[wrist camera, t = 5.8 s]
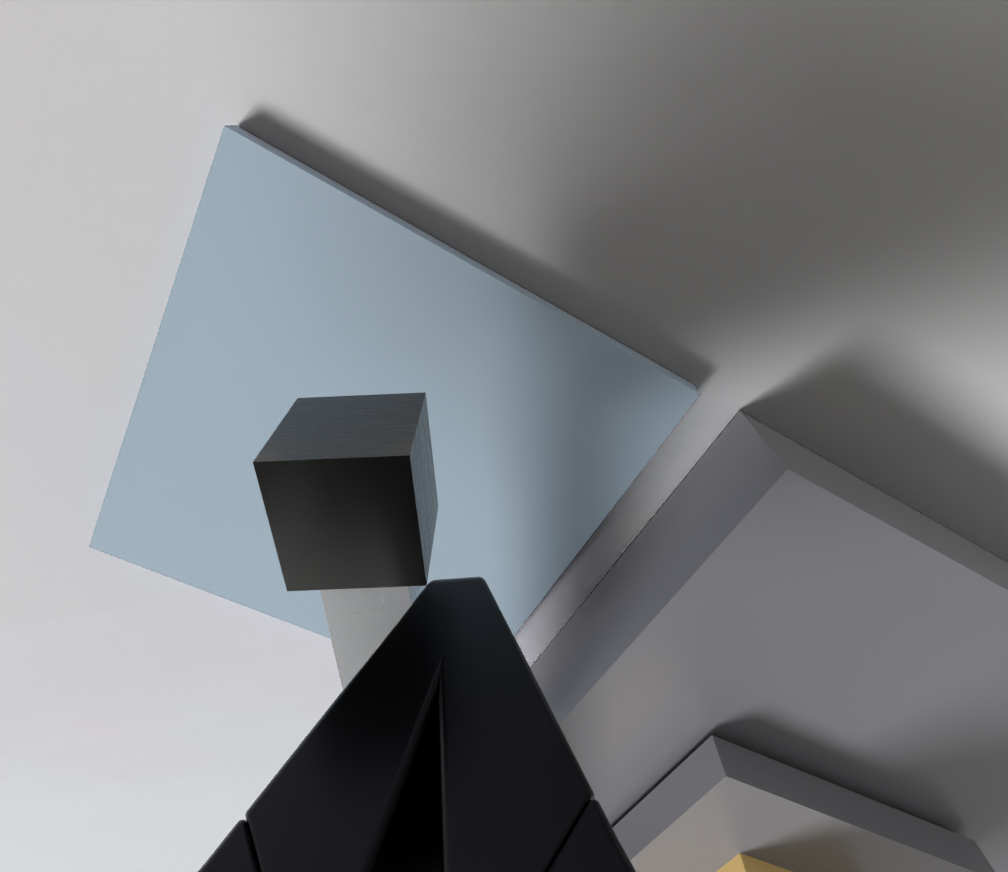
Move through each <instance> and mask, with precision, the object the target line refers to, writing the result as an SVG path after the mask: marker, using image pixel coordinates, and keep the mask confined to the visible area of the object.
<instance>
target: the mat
mask: <svg viewBox="0 0 1008 872" xmlns="http://www.w3.org/2000/svg"><path fill="white" fill-rule="evenodd" d="M423 392H426V400H427V409H428V418H429V427H430V436H431V445H432V454H433V463H434V472H435V481H436V490H437V499H438V512H437V519H436V526H435V533H434V539H433V546H432V553H431V560H430V566H429V573H428V580H427V584H428V583H429V582H431V581H432V580H438V579H452V578H466V577H482V578H483V579H484V580H485V581H486V583H487V585H488V587H489V589H490V591H491V592H492V594H493V596H494V598H495V600H496V602H497V604H498V606H499V608H500V610H501V612H502V614H503V616H504V618H505V620H506V622H507V624H508V626H509V628H510V630H511V632H512V634H513V636H514V635H515V634H516V633H517V631H518V630H519V629H520V628H521V626H522V625H523V624H524V622H525V621H526V620H527V618H528V617H529V616H530V615H531V613H532V612H533V611H534V609H535V608H536V607H537V605H538V604H539V603H540V602H541V600H542V599H543V598H544V596H545V595H546V594H547V592H548V591H549V590H550V589H551V587H552V586H553V585H554V583H555V582H556V581H557V579H558V578H559V577H560V576H561V574H562V573H563V572H564V570H565V569H566V568H567V567H568V565H569V564H570V563H571V561H572V560H573V559H574V557H575V556H576V555H577V554H578V552H579V551H580V550H581V548H582V547H583V546H584V544H585V543H586V542H587V541H588V539H589V538H590V537H591V535H592V534H593V533H594V531H595V530H596V529H597V528H598V526H599V525H600V524H601V522H602V521H603V520H604V519H605V517H606V516H607V515H608V513H609V512H610V511H611V509H612V508H613V507H614V506H615V504H616V503H617V502H618V500H619V499H620V498H621V496H622V495H623V494H624V493H625V491H626V490H627V489H628V487H629V486H630V485H631V483H632V482H633V481H634V480H635V478H636V477H637V476H638V474H639V473H640V472H641V471H642V469H643V468H644V467H645V465H646V464H647V463H648V461H649V460H650V459H651V458H652V456H653V455H654V454H655V452H656V451H657V450H658V448H659V447H660V446H661V445H662V443H663V442H664V441H665V439H666V438H667V437H668V435H669V434H670V433H671V432H672V430H673V429H674V428H675V426H676V425H677V424H678V423H679V421H680V420H681V419H682V417H683V416H684V415H685V413H686V412H687V411H688V410H689V408H690V407H691V406H692V404H693V403H694V402H695V400H696V399H697V398H698V397H699V395H700V393H699V391H698V390H697V389H696V387H695V386H694V384H692V383H690V382H688V381H686V380H685V379H683V378H681V377H679V376H678V375H676V374H674V373H672V372H671V371H669V370H667V369H665V368H664V367H662V366H660V365H658V364H656V363H655V362H653V361H651V360H649V359H648V358H646V357H644V356H642V355H641V354H639V353H637V352H635V351H633V350H632V349H630V348H628V347H626V346H625V345H623V344H621V343H619V342H618V341H616V340H614V339H612V338H610V337H609V336H607V335H605V334H603V333H602V332H600V331H598V330H596V329H595V328H593V327H591V326H589V325H588V324H586V323H584V322H582V321H580V320H579V319H577V318H575V317H573V316H572V315H570V314H568V313H566V312H565V311H563V310H561V309H559V308H557V307H556V306H554V305H552V304H550V303H549V302H547V301H545V300H543V299H542V298H540V297H538V296H536V295H535V294H533V293H531V292H529V291H527V290H526V289H524V288H522V287H520V286H519V285H517V284H515V283H513V282H512V281H510V280H508V279H506V278H504V277H503V276H501V275H499V274H497V273H496V272H494V271H492V270H490V269H489V268H487V267H485V266H483V265H482V264H480V263H478V262H476V261H474V260H473V259H471V258H469V257H467V256H466V255H464V254H462V253H460V252H459V251H457V250H455V249H453V248H451V247H450V246H448V245H446V244H444V243H443V242H441V241H439V240H437V239H436V238H434V237H432V236H430V235H429V234H427V233H425V232H423V231H421V230H420V229H418V228H416V227H414V226H413V225H411V224H409V223H407V222H406V221H404V220H402V219H400V218H398V217H397V216H395V215H393V214H391V213H390V212H388V211H386V210H384V209H383V208H381V207H379V206H377V205H375V204H374V203H372V202H370V201H368V200H367V199H365V198H363V197H361V196H360V195H358V194H356V193H354V192H353V191H351V190H349V189H347V188H345V187H344V186H342V185H340V184H338V183H337V182H335V181H333V180H331V179H330V178H328V177H326V176H324V175H322V174H321V173H319V172H317V171H315V170H314V169H312V168H310V167H308V166H307V165H305V164H303V163H301V162H300V161H298V160H296V159H294V158H292V157H291V156H289V155H287V154H285V153H284V152H282V151H280V150H278V149H277V148H275V147H273V146H271V145H269V144H268V143H266V142H264V141H262V140H261V139H259V138H257V137H255V136H254V135H252V134H250V133H248V132H247V131H245V130H243V129H241V128H239V127H238V126H236V125H230V126H224V128H223V131H222V135H221V138H220V141H219V144H218V147H217V150H216V153H215V156H214V159H213V163H212V166H211V169H210V172H209V175H208V178H207V181H206V184H205V187H204V191H203V194H202V197H201V200H200V203H199V206H198V209H197V212H196V215H195V219H194V222H193V225H192V228H191V231H190V234H189V237H188V240H187V243H186V247H185V250H184V253H183V256H182V259H181V262H180V265H179V268H178V271H177V275H176V278H175V281H174V284H173V287H172V290H171V293H170V296H169V299H168V303H167V306H166V309H165V312H164V315H163V318H162V321H161V324H160V327H159V331H158V334H157V337H156V340H155V343H154V346H153V349H152V352H151V355H150V359H149V362H148V365H147V368H146V371H145V374H144V377H143V380H142V383H141V387H140V390H139V393H138V396H137V399H136V402H135V405H134V408H133V411H132V415H131V418H130V421H129V424H128V427H127V430H126V433H125V436H124V439H123V443H122V446H121V449H120V452H119V455H118V458H117V461H116V464H115V467H114V471H113V474H112V477H111V480H110V483H109V486H108V489H107V492H106V495H105V499H104V502H103V505H102V508H101V511H100V514H99V517H98V520H97V523H96V527H95V530H94V533H93V536H92V539H91V542H90V545H89V547H91V548H93V549H96V550H99V551H101V552H104V553H106V554H109V555H112V556H114V557H117V558H120V559H122V560H125V561H128V562H130V563H133V564H135V565H138V566H141V567H143V568H146V569H149V570H151V571H154V572H157V573H159V574H162V575H164V576H167V577H170V578H172V579H175V580H178V581H180V582H183V583H185V584H188V585H191V586H193V587H196V588H199V589H201V590H204V591H207V592H209V593H212V594H214V595H217V596H220V597H222V598H225V599H228V600H230V601H233V602H236V603H238V604H241V605H243V606H246V607H249V608H251V609H254V610H257V611H259V612H262V613H265V614H267V615H270V616H272V617H275V618H278V619H280V620H283V621H286V622H288V623H291V624H294V625H296V626H299V627H301V628H304V629H307V630H309V631H312V632H315V633H317V634H320V635H322V636H325V637H328V638H330V639H331V636H330V631H329V627H328V623H327V619H326V614H325V610H324V606H323V601H322V597H321V593H320V590H308V591H287V589H286V585H285V582H284V578H283V574H282V570H281V566H280V563H279V559H278V555H277V551H276V548H275V544H274V540H273V536H272V533H271V529H270V525H269V521H268V517H267V514H266V510H265V506H264V502H263V499H262V495H261V491H260V487H259V484H258V480H257V476H256V472H255V469H254V465H253V461H254V460H255V458H256V457H257V455H258V454H259V452H260V451H261V450H262V448H263V447H264V445H265V444H266V442H267V441H268V440H269V438H270V437H271V435H272V434H273V432H274V431H275V430H276V428H277V427H278V425H279V424H280V422H281V421H282V420H283V418H284V417H285V415H286V414H287V412H288V411H289V410H290V408H291V407H292V405H293V404H294V402H295V401H296V400H297V398H309V397H332V396H355V395H378V394H400V393H423Z"/></svg>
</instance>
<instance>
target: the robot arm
mask: <svg viewBox="0 0 1008 872" xmlns="http://www.w3.org/2000/svg"><path fill="white" fill-rule="evenodd" d="M246 821H247V822H246ZM246 821H245V820H240V821H239V822H238V823H237V824H236V825H235V827H234V828H233V829H232V830H231V832H230V833H229V834H228V835H227V837H226V838H225V839H224V840H223V842H222V843H221V844H220V845H219V847H218V848H217V849H216V850H215V852H214V853H213V854H212V855H211V857H210V858H209V859H208V860H207V862H206V863H205V864H204V865H203V866H202V868H201V869H200V870H199V871H198V872H636V871H635V869H634V867H633V865H632V863H631V861H630V860H629V858H628V856H627V854H626V852H625V851H624V849H623V847H622V845H621V843H620V842H619V840H618V838H617V836H616V834H615V832H614V830H613V828H612V826H611V824H610V822H609V820H608V819H607V817H606V815H605V813H604V811H603V809H602V807H601V805H600V803H599V801H597V800H595V796H594V792H593V790H592V788H591V786H590V784H589V782H588V780H587V778H586V776H585V775H584V773H583V771H582V769H581V767H580V765H579V763H578V761H577V759H576V757H575V755H574V753H573V751H572V749H571V747H570V745H569V743H568V741H567V739H566V737H565V735H564V733H563V731H562V729H561V728H560V726H559V724H558V722H557V720H556V718H555V716H554V714H553V712H552V710H551V708H550V706H549V704H548V702H547V700H546V698H545V696H544V694H543V692H542V690H541V688H540V686H539V684H538V683H537V681H536V679H535V677H534V675H533V673H532V671H531V669H530V667H529V665H528V663H527V661H526V659H525V657H524V655H523V653H522V651H521V649H520V647H519V645H518V643H517V641H516V639H515V637H514V636H513V634H512V632H511V630H510V628H509V626H508V624H507V622H506V620H505V618H504V616H503V614H502V612H501V610H500V608H499V606H498V604H497V602H496V600H495V598H494V596H493V594H492V592H491V591H490V589H489V587H488V585H487V583H486V581H485V580H484V579H483V578H482V577H466V578H452V579H438V580H432V581H431V582H429V583H428V584H427V586H426V587H425V588H424V589H423V591H422V592H421V593H420V594H419V596H418V597H417V598H416V599H415V601H414V602H413V603H412V604H411V606H410V607H409V608H408V609H407V611H406V612H405V613H404V614H403V616H402V617H401V618H400V620H399V621H398V622H397V623H396V625H395V626H394V627H393V628H392V630H391V631H390V632H389V633H388V635H387V636H386V637H385V638H384V640H383V641H382V642H381V643H380V645H379V646H378V647H377V648H376V650H375V651H374V652H373V653H372V655H371V656H370V657H369V658H368V660H367V661H366V662H365V664H364V665H363V666H362V667H361V669H360V670H359V671H358V672H357V674H356V675H355V676H354V677H353V679H352V680H351V681H350V682H349V684H348V685H347V686H346V687H345V689H344V690H343V691H342V692H341V694H340V695H339V696H338V697H337V699H336V700H335V701H334V703H333V704H332V705H331V706H330V708H329V709H328V710H327V711H326V713H325V714H324V715H323V716H322V718H321V719H320V720H319V721H318V723H317V724H316V725H315V726H314V728H313V729H312V730H311V731H310V733H309V734H308V735H307V736H306V738H305V739H304V740H303V741H302V743H301V744H300V745H299V747H298V748H297V749H296V750H295V752H294V753H293V754H292V755H291V757H290V758H289V759H288V760H287V762H286V763H285V764H284V765H283V767H282V768H281V769H280V770H279V772H278V773H277V774H276V775H275V777H274V778H273V779H272V780H271V782H270V783H269V784H268V786H267V787H266V788H265V789H264V791H263V792H262V793H261V794H260V796H259V797H258V798H257V799H256V801H255V802H254V803H253V804H252V806H251V807H250V808H249V809H248V811H247V812H246Z"/></svg>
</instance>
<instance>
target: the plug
mask: <svg viewBox="0 0 1008 872" xmlns="http://www.w3.org/2000/svg"><path fill="white" fill-rule="evenodd" d="M613 830H614V832H615V834H616V836H617V838H618V840H619V842H620V843H621V845H622V847H623V849H624V851H625V852H626V854H627V856H628V858H629V860H630V861H631V863H632V865H633V867H634V869H635V871H636V872H995V871H994V869H993V868H992V866H991V865H990V863H989V862H988V860H987V859H986V857H985V856H984V854H983V853H982V851H981V850H980V848H979V847H978V845H977V844H976V842H975V841H974V840H972V839H969V838H967V837H964V836H962V835H959V834H957V833H954V832H952V831H949V830H947V829H944V828H942V827H939V826H937V825H934V824H932V823H930V822H927V821H925V820H922V819H920V818H917V817H915V816H912V815H910V814H907V813H905V812H902V811H900V810H897V809H895V808H892V807H890V806H887V805H885V804H882V803H880V802H877V801H875V800H872V799H870V798H867V797H865V796H862V795H860V794H857V793H855V792H852V791H850V790H847V789H845V788H842V787H840V786H837V785H835V784H833V783H830V782H828V781H825V780H823V779H820V778H818V777H815V776H813V775H810V774H808V773H805V772H803V771H800V770H798V769H795V768H793V767H790V766H788V765H785V764H783V763H780V762H778V761H775V760H773V759H770V758H768V757H765V756H763V755H760V754H758V753H755V752H753V751H750V750H748V749H745V748H743V747H740V746H738V745H736V744H733V743H731V742H728V741H726V740H723V739H721V738H718V737H716V736H713V735H711V736H710V737H709V738H708V739H707V740H706V741H705V742H704V743H703V744H702V745H701V746H700V747H698V748H697V749H696V750H695V751H694V752H693V753H692V754H691V755H690V756H689V757H688V758H687V759H686V760H685V761H683V762H682V763H681V764H680V765H679V766H678V767H677V768H676V769H675V770H674V771H673V772H672V773H671V774H670V775H668V776H667V777H666V778H665V779H664V780H663V781H662V782H661V783H660V784H659V785H658V786H657V787H656V788H655V789H653V790H652V791H651V792H650V793H649V794H648V795H647V796H646V797H645V798H644V799H643V800H642V801H641V802H640V803H638V804H637V805H636V806H635V807H634V808H633V809H632V810H631V811H630V812H629V813H628V814H627V815H626V816H625V817H623V818H622V819H621V820H620V821H619V822H618V823H617V824H616V825H615V826H614V827H613Z"/></svg>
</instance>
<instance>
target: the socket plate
mask: <svg viewBox="0 0 1008 872" xmlns="http://www.w3.org/2000/svg"><path fill="white" fill-rule="evenodd" d="M530 669H531V671H532V673H533V675H534V677H535V679H536V681H537V683H538V684H539V686H540V688H541V690H542V692H543V694H544V696H545V698H546V700H547V702H548V704H549V706H550V708H551V710H552V712H553V714H554V716H555V718H556V720H557V722H558V724H559V726H560V728H561V729H562V731H563V733H564V735H565V737H566V739H567V741H568V743H569V745H570V747H571V749H572V751H573V753H574V755H575V757H576V759H577V761H578V763H579V765H580V767H581V769H582V771H583V773H584V775H585V776H586V778H587V780H588V782H589V784H590V786H591V788H592V790H593V792H594V796H595V800H597V801H599V803H600V805H601V807H602V809H603V811H604V813H605V815H606V817H607V819H608V820H609V822H610V824H611V826H612V828H613V827H614V826H615V825H616V824H617V823H618V822H619V821H620V820H621V819H622V818H623V817H625V816H626V815H627V814H628V813H629V812H630V811H631V810H632V809H633V808H634V807H635V806H636V805H637V804H638V803H640V802H641V801H642V800H643V799H644V798H645V797H646V796H647V795H648V794H649V793H650V792H651V791H652V790H653V789H655V788H656V787H657V786H658V785H659V784H660V783H661V782H662V781H663V780H664V779H665V778H666V777H667V776H668V775H670V774H671V773H672V772H673V771H674V770H675V769H676V768H677V767H678V766H679V765H680V764H681V763H682V762H683V761H685V760H686V759H687V758H688V757H689V756H690V755H691V754H692V753H693V752H694V751H695V750H696V749H697V748H698V747H700V746H701V745H702V744H703V743H704V742H705V741H706V740H707V739H708V738H709V737H710V736H711V735H713V736H716V737H718V738H721V739H723V740H726V741H728V742H731V743H733V744H736V745H738V746H740V747H743V748H745V749H748V750H750V751H753V752H755V753H758V754H760V755H763V756H765V757H768V758H770V759H773V760H775V761H778V762H780V763H783V764H785V765H788V766H790V767H793V768H795V769H798V770H800V771H803V772H805V773H808V774H810V775H813V776H815V777H818V778H820V779H823V780H825V781H828V782H830V783H833V784H835V785H837V786H840V787H842V788H845V789H847V790H850V791H852V792H855V793H857V794H860V795H862V796H865V797H867V798H870V799H872V800H875V801H877V802H880V803H882V804H885V805H887V806H890V807H892V808H895V809H897V810H900V811H902V812H905V813H907V814H910V815H912V816H915V817H917V818H920V819H922V820H925V821H927V822H930V823H932V824H934V825H937V826H939V827H942V828H944V829H947V830H949V831H952V832H954V833H957V834H959V835H962V836H964V837H967V838H969V839H972V840H974V841H975V842H976V844H977V845H978V847H979V848H980V850H981V851H982V853H983V854H984V856H985V857H986V859H987V860H988V862H989V863H990V865H991V866H992V868H993V869H994V871H995V872H1008V562H1006V561H1005V560H1003V559H1001V558H999V557H997V556H996V555H994V554H992V553H990V552H989V551H987V550H985V549H983V548H982V547H980V546H978V545H976V544H974V543H973V542H971V541H969V540H967V539H966V538H964V537H962V536H960V535H959V534H957V533H955V532H953V531H952V530H950V529H948V528H946V527H944V526H943V525H941V524H939V523H937V522H936V521H934V520H932V519H930V518H929V517H927V516H925V515H923V514H921V513H920V512H918V511H916V510H914V509H913V508H911V507H909V506H907V505H906V504H904V503H902V502H900V501H899V500H897V499H895V498H893V497H891V496H890V495H888V494H886V493H884V492H883V491H881V490H879V489H877V488H876V487H874V486H872V485H870V484H868V483H867V482H865V481H863V480H861V479H860V478H858V477H856V476H854V475H853V474H851V473H849V472H847V471H845V470H844V469H842V468H840V467H838V466H837V465H835V464H833V463H831V462H830V461H828V460H826V459H824V458H823V457H821V456H819V455H817V454H815V453H814V452H812V451H810V450H808V449H807V448H805V447H803V446H801V445H800V444H798V443H796V442H794V441H792V440H791V439H789V438H787V437H785V436H784V435H782V434H780V433H778V432H777V431H775V430H773V429H771V428H770V427H768V426H766V425H764V424H762V423H761V422H759V421H757V420H755V419H754V418H752V417H750V416H748V415H747V414H745V413H743V412H741V411H739V412H738V413H737V414H736V416H735V417H734V418H733V419H732V421H731V422H730V423H729V424H728V425H727V427H726V428H725V429H724V430H723V432H722V433H721V434H720V435H719V437H718V438H717V439H716V440H715V441H714V443H713V444H712V445H711V446H710V448H709V449H708V450H707V451H706V453H705V454H704V455H703V456H702V457H701V459H700V460H699V461H698V462H697V464H696V465H695V466H694V467H693V469H692V470H691V471H690V472H689V473H688V475H687V476H686V477H685V478H684V480H683V481H682V482H681V483H680V484H679V486H678V487H677V488H676V489H675V491H674V492H673V493H672V494H671V496H670V497H669V498H668V499H667V500H666V502H665V503H664V504H663V505H662V507H661V508H660V509H659V510H658V512H657V513H656V514H655V515H654V516H653V518H652V519H651V520H650V521H649V523H648V524H647V525H646V526H645V528H644V529H643V530H642V531H641V532H640V534H639V535H638V536H637V537H636V539H635V540H634V541H633V542H632V544H631V545H630V546H629V547H628V548H627V550H626V551H625V552H624V553H623V555H622V556H621V557H620V558H619V560H618V561H617V562H616V563H615V564H614V566H613V567H612V568H611V569H610V571H609V572H608V573H607V574H606V576H605V577H604V578H603V579H602V580H601V582H600V583H599V584H598V585H597V587H596V588H595V589H594V590H593V592H592V593H591V594H590V595H589V596H588V598H587V599H586V600H585V601H584V603H583V604H582V605H581V606H580V608H579V609H578V610H577V611H576V612H575V614H574V615H573V616H572V617H571V619H570V620H569V621H568V622H567V624H566V625H565V626H564V627H563V628H562V630H561V631H560V632H559V633H558V635H557V636H556V637H555V638H554V640H553V641H552V642H551V643H550V644H549V646H548V647H547V648H546V649H545V651H544V652H543V653H542V654H541V656H540V657H539V658H538V659H537V660H536V662H535V663H534V664H533V665H532V667H531V668H530Z"/></svg>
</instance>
